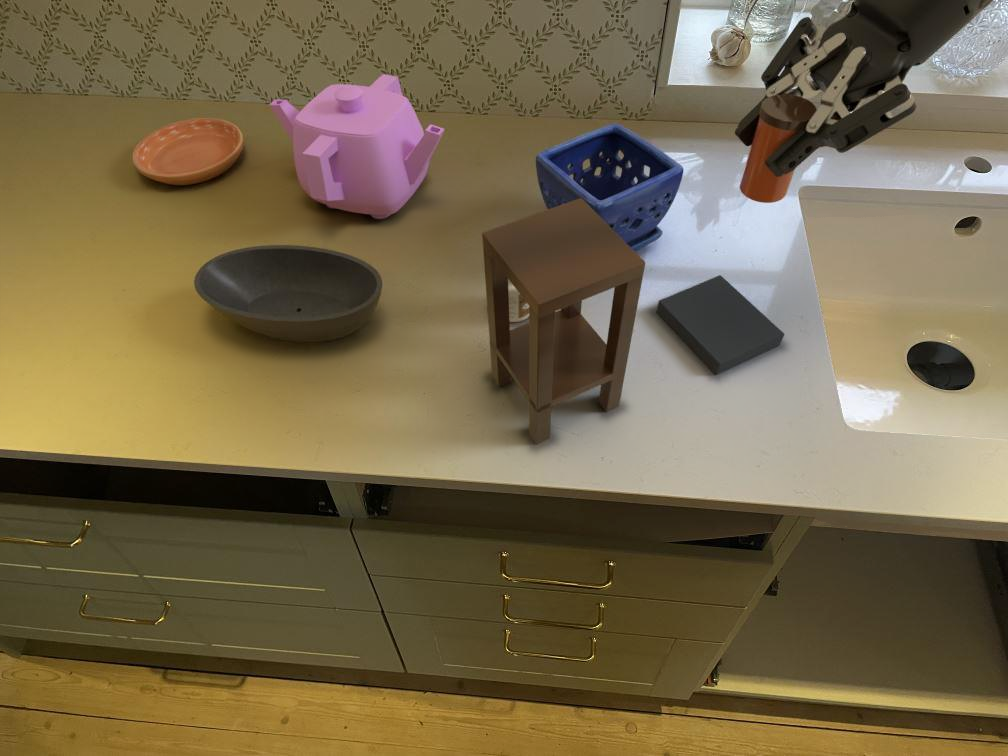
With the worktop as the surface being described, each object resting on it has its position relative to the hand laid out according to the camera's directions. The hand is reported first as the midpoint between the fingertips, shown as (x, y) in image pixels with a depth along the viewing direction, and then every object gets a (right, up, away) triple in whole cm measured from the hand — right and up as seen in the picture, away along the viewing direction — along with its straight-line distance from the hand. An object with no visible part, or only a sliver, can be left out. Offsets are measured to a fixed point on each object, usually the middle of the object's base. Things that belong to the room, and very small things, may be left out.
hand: (756, 154), depth 57 cm
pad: (+2, -14, +18) cm, 23 cm away
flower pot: (-9, -1, +29) cm, 30 cm away
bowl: (-46, -13, +21) cm, 53 cm away
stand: (-17, -21, +13) cm, 30 cm away
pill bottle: (-21, -12, +21) cm, 32 cm away
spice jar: (+2, -2, +4) cm, 4 cm away
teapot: (-41, +7, +37) cm, 56 cm away
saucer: (-70, +14, +43) cm, 83 cm away
